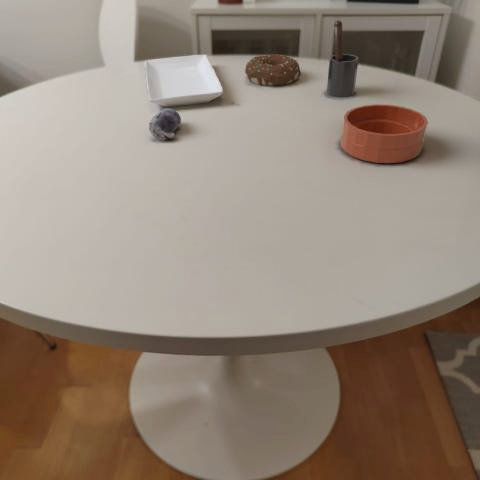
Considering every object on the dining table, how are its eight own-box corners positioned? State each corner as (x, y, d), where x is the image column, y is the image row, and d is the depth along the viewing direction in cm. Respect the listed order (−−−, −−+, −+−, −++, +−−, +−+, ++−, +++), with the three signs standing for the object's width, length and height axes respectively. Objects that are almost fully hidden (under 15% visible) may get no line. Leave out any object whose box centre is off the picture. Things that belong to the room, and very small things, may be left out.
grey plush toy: (166, 150, 89) (173, 131, 97) (181, 128, 86) (186, 110, 94) (142, 134, 87) (151, 116, 95) (156, 111, 84) (164, 94, 92)
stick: (339, 89, 106) (337, 18, 94) (345, 91, 105) (343, 19, 93) (335, 93, 105) (332, 21, 93) (341, 94, 104) (339, 22, 93)
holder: (336, 88, 109) (340, 52, 104) (359, 94, 105) (364, 57, 100) (320, 95, 106) (323, 58, 100) (343, 101, 102) (348, 63, 97)
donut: (243, 74, 120) (242, 53, 117) (295, 71, 120) (296, 50, 117) (247, 92, 109) (246, 69, 106) (303, 89, 110) (305, 66, 106)
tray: (150, 114, 100) (147, 98, 98) (146, 72, 124) (143, 58, 121) (225, 107, 102) (224, 91, 100) (207, 67, 126) (206, 53, 123)
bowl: (367, 127, 91) (371, 99, 88) (434, 146, 84) (442, 116, 80) (325, 150, 84) (328, 121, 80) (394, 174, 76) (401, 142, 73)
